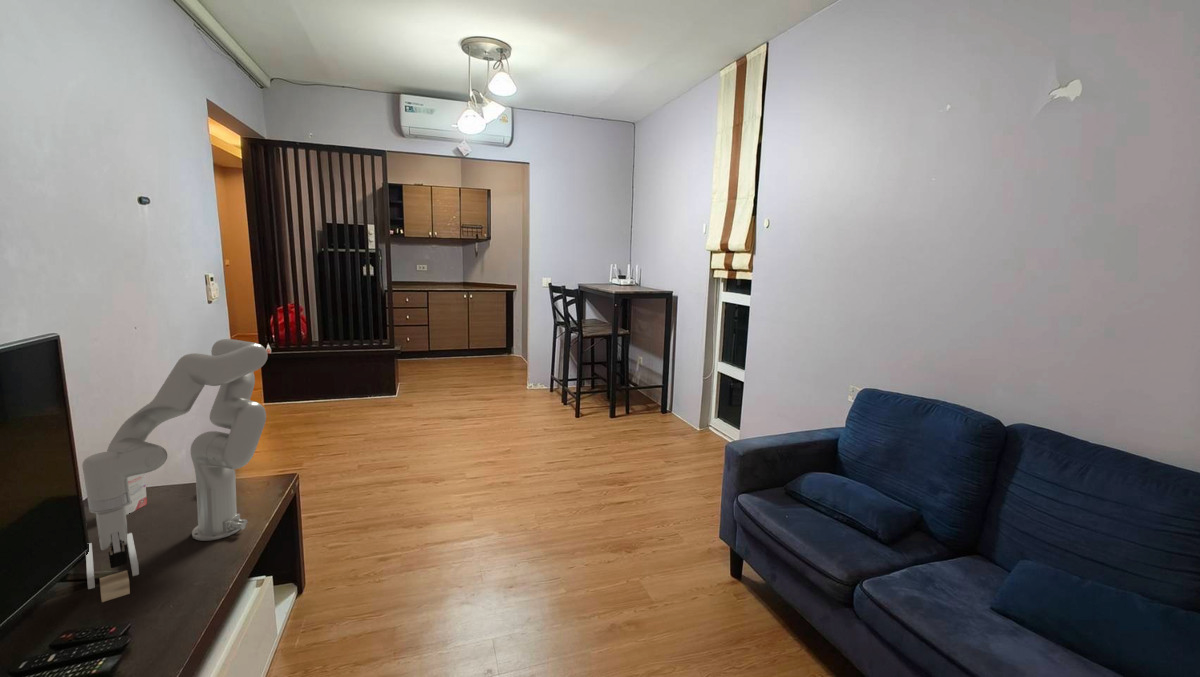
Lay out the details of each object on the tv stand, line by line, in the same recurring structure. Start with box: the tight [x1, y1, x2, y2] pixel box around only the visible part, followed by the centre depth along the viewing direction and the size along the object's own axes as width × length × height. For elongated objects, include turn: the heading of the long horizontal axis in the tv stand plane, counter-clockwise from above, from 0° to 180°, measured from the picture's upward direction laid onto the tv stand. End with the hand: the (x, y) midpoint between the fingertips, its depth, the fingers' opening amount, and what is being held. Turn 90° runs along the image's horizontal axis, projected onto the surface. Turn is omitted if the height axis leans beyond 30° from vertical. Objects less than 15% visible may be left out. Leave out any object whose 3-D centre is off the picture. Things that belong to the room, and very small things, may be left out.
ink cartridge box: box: [125, 473, 148, 516], centre depth 160 cm, size 9×5×15 cm, turn 179°
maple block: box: [99, 570, 131, 603], centre depth 123 cm, size 5×5×4 cm
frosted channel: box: [85, 532, 140, 590], centre depth 134 cm, size 20×9×3 cm, turn 47°
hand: (119, 564), depth 129 cm, fingers closed
